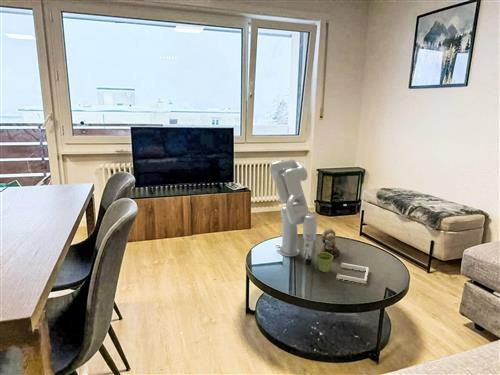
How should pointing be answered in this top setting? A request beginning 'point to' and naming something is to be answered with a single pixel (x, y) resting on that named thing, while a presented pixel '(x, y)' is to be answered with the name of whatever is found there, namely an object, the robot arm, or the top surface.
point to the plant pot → (324, 261)
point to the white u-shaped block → (354, 267)
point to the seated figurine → (329, 243)
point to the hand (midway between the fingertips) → (308, 264)
